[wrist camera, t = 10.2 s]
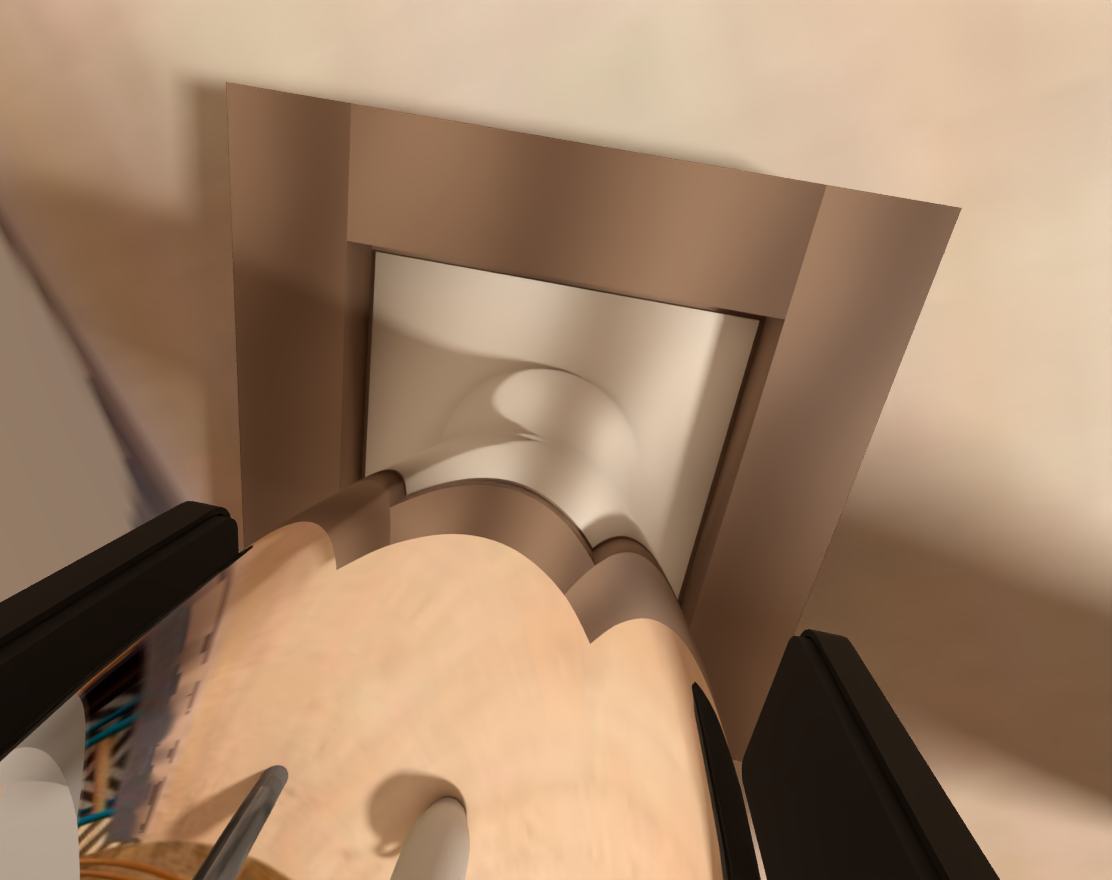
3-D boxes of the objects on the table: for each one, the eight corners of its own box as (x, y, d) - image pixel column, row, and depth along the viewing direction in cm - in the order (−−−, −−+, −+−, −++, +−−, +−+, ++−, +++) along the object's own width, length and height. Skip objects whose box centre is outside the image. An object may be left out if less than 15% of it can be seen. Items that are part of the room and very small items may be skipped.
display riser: (866, 222, 16) (961, 207, 12) (716, 662, 21) (743, 761, 17) (324, 129, 16) (226, 82, 12) (317, 582, 22) (248, 658, 18)
